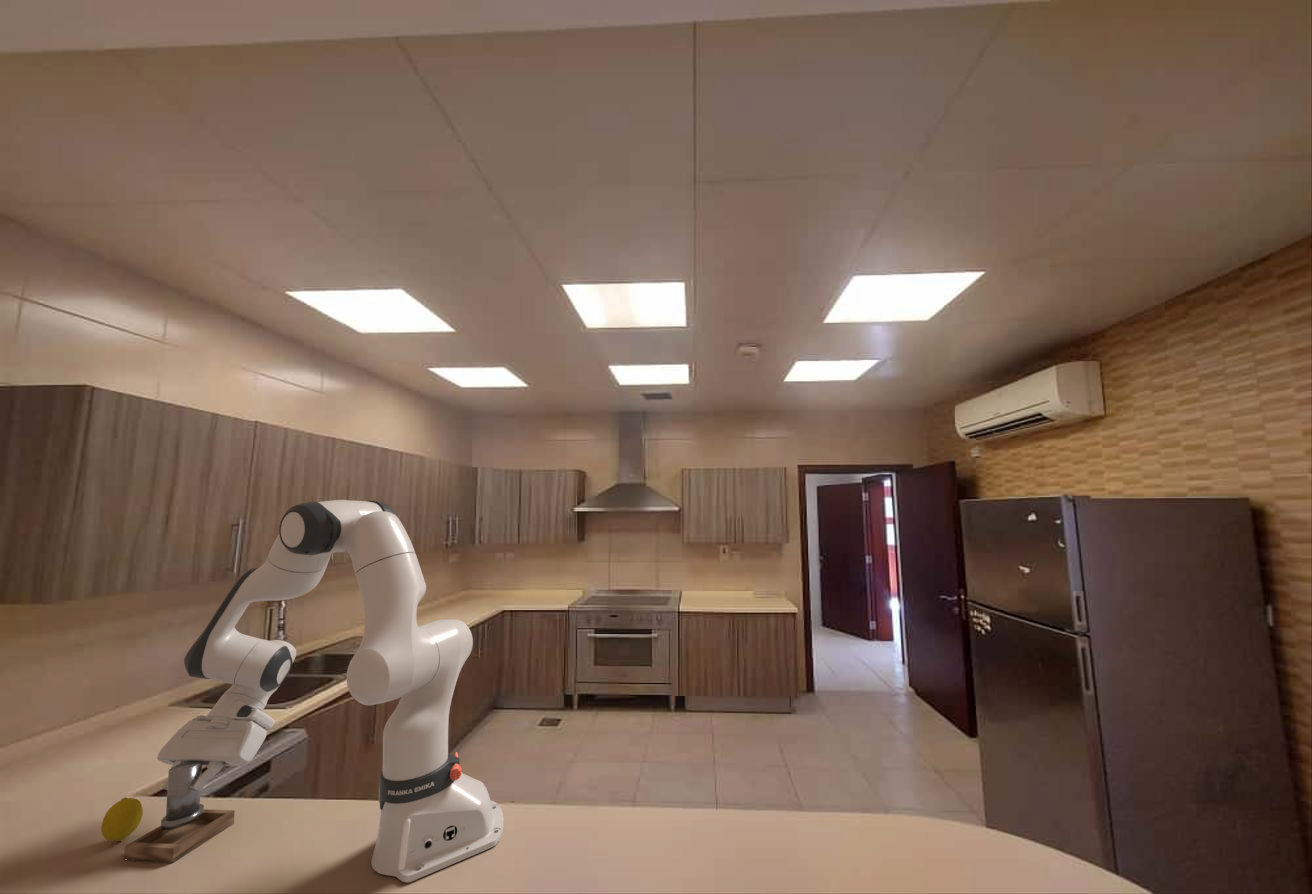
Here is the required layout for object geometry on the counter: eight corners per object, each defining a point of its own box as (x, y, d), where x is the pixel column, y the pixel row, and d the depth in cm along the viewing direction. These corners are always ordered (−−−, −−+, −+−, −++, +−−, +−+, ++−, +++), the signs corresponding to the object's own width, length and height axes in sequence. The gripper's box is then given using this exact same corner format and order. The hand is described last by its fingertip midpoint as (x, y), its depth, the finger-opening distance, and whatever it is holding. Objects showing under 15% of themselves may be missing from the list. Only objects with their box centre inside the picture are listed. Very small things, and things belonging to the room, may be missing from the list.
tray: (234, 823, 98) (234, 810, 99) (172, 863, 88) (173, 848, 88) (189, 821, 100) (190, 808, 100) (123, 860, 89) (124, 845, 90)
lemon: (95, 846, 94) (98, 803, 95) (135, 829, 99) (138, 787, 100) (105, 854, 91) (108, 809, 92) (146, 836, 96) (148, 793, 97)
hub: (209, 806, 98) (212, 755, 99) (193, 824, 93) (196, 769, 94) (171, 815, 96) (174, 762, 97) (153, 833, 90) (157, 777, 92)
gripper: (183, 709, 105) (124, 782, 94) (263, 709, 102) (212, 785, 91) (204, 721, 109) (150, 793, 98) (282, 722, 106) (234, 796, 95)
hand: (180, 789), depth 94 cm, fingers closed on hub, 5 cm apart
